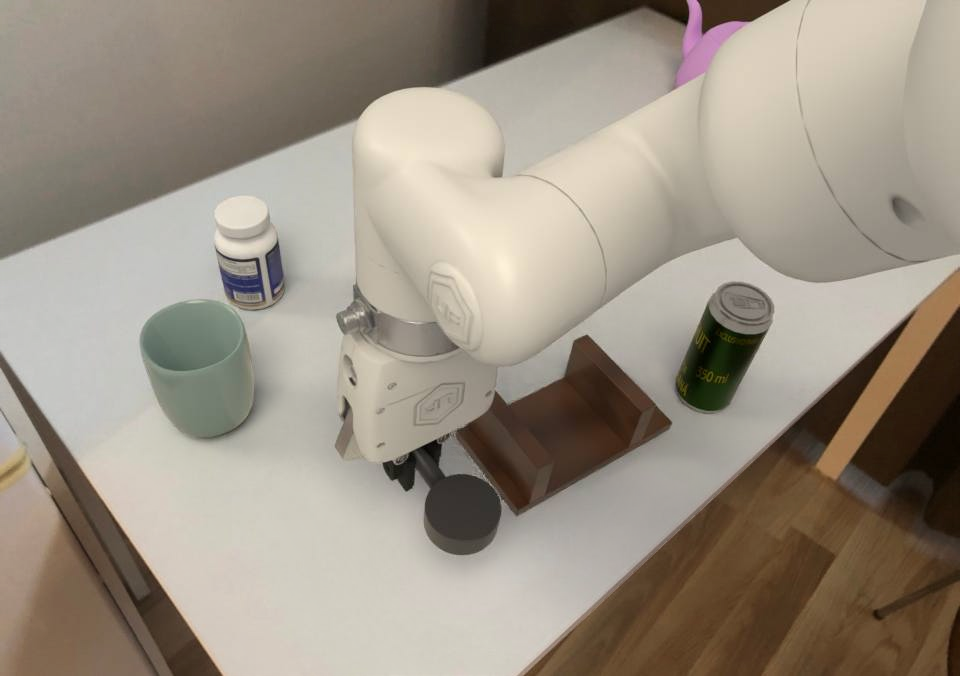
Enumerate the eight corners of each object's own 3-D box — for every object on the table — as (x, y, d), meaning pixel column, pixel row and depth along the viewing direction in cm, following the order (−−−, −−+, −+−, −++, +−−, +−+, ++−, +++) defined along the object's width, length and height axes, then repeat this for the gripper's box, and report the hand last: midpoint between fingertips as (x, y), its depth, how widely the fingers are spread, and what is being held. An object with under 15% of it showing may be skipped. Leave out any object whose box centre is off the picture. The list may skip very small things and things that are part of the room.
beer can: (726, 374, 76) (771, 283, 67) (734, 419, 72) (782, 329, 64) (670, 367, 76) (708, 275, 67) (675, 412, 72) (716, 321, 63)
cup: (155, 394, 68) (128, 314, 61) (245, 367, 71) (229, 287, 64) (177, 464, 64) (150, 386, 57) (272, 433, 67) (258, 354, 60)
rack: (670, 428, 71) (689, 386, 67) (516, 516, 64) (526, 475, 59) (605, 362, 76) (619, 318, 71) (455, 437, 68) (460, 393, 64)
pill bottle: (263, 263, 81) (251, 183, 73) (297, 294, 78) (288, 214, 71) (213, 288, 78) (195, 207, 70) (246, 321, 75) (231, 240, 68)
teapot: (804, 125, 108) (841, 43, 99) (743, 155, 102) (776, 70, 93) (693, 60, 118) (718, -20, 109) (631, 83, 112) (652, 1, 103)
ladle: (374, 347, 65) (374, 330, 64) (512, 532, 55) (516, 518, 54) (316, 371, 63) (314, 355, 62) (449, 569, 53) (451, 555, 51)
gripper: (330, 394, 42) (342, 558, 55) (563, 293, 48) (522, 461, 62) (269, 304, 45) (294, 478, 59) (492, 222, 52) (469, 395, 66)
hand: (411, 468), depth 60 cm, fingers closed on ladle, 1 cm apart
